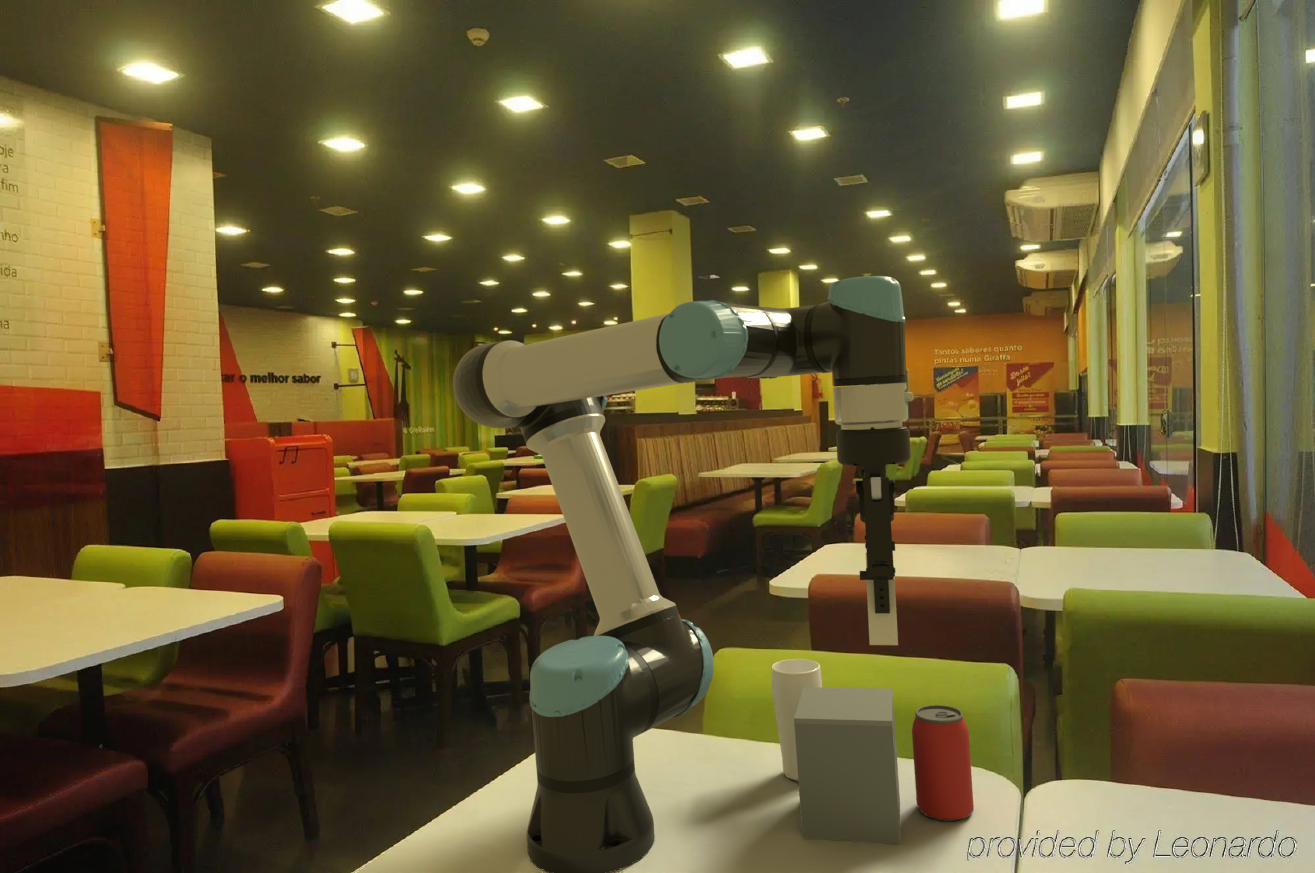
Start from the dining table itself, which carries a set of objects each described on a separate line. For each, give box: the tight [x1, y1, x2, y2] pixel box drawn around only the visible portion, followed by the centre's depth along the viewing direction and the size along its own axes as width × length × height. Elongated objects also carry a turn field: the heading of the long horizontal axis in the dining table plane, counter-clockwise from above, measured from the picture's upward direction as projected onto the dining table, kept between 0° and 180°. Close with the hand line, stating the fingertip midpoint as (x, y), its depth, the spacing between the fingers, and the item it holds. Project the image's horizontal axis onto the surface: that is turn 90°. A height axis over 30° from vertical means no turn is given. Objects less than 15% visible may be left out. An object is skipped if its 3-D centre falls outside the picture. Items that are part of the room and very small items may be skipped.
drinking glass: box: [770, 658, 823, 782], centre depth 116 cm, size 7×7×15 cm
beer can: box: [911, 704, 975, 822], centre depth 103 cm, size 7×7×12 cm
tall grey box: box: [794, 687, 901, 845], centre depth 103 cm, size 11×11×14 cm
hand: (882, 626), depth 91 cm, fingers open, 13 cm apart
